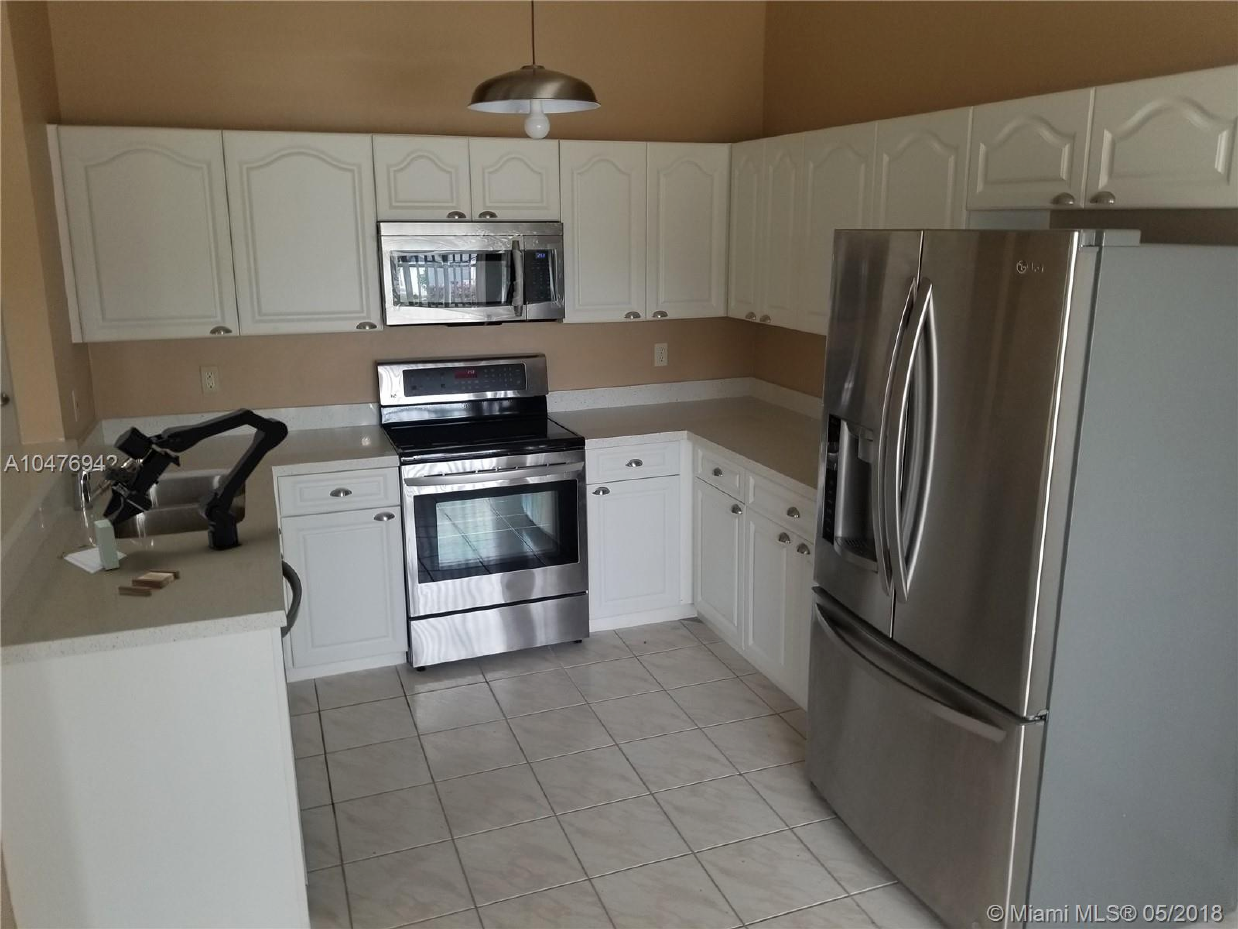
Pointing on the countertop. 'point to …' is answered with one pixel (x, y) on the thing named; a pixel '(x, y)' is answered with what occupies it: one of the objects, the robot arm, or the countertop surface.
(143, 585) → the rack
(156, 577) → the offcut top
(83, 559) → the baseboard
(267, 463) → the countertop surface
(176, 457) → the robot arm
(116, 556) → the pale green block
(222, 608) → the countertop surface
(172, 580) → the offcut low
